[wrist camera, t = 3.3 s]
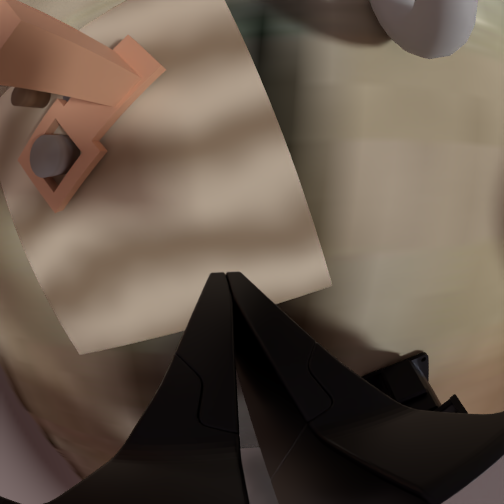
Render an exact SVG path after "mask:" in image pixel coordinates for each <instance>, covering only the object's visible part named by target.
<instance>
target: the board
mask: <svg viewBox="0 0 504 504" xmlns="http://www.w3.org/2000/svg"><path fill="white" fill-rule="evenodd" d="M78 31H80V32H82V33H84V34H86V35H88V36H89V37H91V38H93V39H95V40H96V41H98V42H100V43H102V44H103V45H105V46H107V47H109V48H110V49H112V50H113V49H114V48H115V47H116V46H117V45H118V44H119V43H120V42H121V41H122V40H123V39H124V38H125V37H126V36H127V35H129V36H131V37H132V38H133V39H134V40H136V41H137V42H138V43H139V44H140V45H141V46H142V47H143V48H144V49H145V50H146V51H147V52H148V53H149V54H151V55H152V56H153V57H154V58H155V59H156V60H157V61H158V62H159V63H160V64H161V65H162V66H163V67H164V68H165V69H166V71H165V72H164V73H162V74H161V75H160V76H159V77H158V78H157V79H156V80H155V81H154V82H153V83H152V84H151V85H150V86H149V87H148V88H147V89H146V90H145V91H144V92H143V93H142V94H141V95H140V96H139V97H138V98H137V99H136V100H135V101H134V102H133V103H132V104H131V105H130V106H129V108H128V109H127V110H126V111H125V112H124V113H123V114H122V115H121V116H120V117H119V118H118V120H117V121H116V122H115V123H114V124H113V125H112V126H111V128H110V129H109V130H108V131H107V132H106V133H105V135H104V136H103V137H102V138H101V139H100V143H101V144H102V145H103V146H104V147H105V148H106V150H107V151H108V152H107V153H106V154H105V155H104V156H103V158H102V159H101V160H100V161H99V162H98V164H97V165H96V166H95V167H94V169H93V170H92V171H91V173H90V174H89V175H88V176H87V178H86V179H85V180H84V182H83V183H82V184H81V186H80V187H79V188H78V190H77V191H76V193H75V194H74V195H73V197H72V198H71V200H70V201H69V202H68V204H67V205H66V207H65V208H64V210H63V211H60V212H57V213H54V211H53V210H52V209H51V207H50V206H49V205H48V203H47V202H46V201H45V199H44V198H43V197H42V195H41V194H40V192H39V191H38V190H37V188H36V187H35V185H34V184H33V182H32V181H31V180H30V178H29V177H28V175H27V174H26V172H25V171H24V169H23V168H22V166H21V165H20V163H19V162H18V158H19V156H20V155H21V153H22V151H23V149H24V148H25V146H26V144H27V143H28V141H29V139H30V138H31V136H32V135H33V133H34V131H35V130H36V128H37V127H38V125H39V124H40V122H41V121H42V119H43V118H44V116H45V115H46V113H47V112H48V110H49V109H50V108H51V106H52V105H53V103H54V102H55V101H56V99H57V98H58V99H63V100H66V101H67V102H68V100H69V99H70V98H71V97H68V96H63V95H58V94H53V93H48V92H42V91H36V90H31V89H24V88H18V87H10V88H9V89H8V90H7V91H6V92H5V93H4V94H3V95H2V96H1V97H0V182H1V186H2V189H3V192H4V196H5V199H6V202H7V205H8V208H9V211H10V214H11V217H12V220H13V223H14V225H15V228H16V231H17V233H18V236H19V238H20V241H21V243H22V246H23V248H24V251H25V253H26V255H27V258H28V260H29V262H30V265H31V267H32V269H33V271H34V273H35V275H36V278H37V280H38V282H39V284H40V286H41V288H42V290H43V292H44V294H45V296H46V298H47V300H48V302H49V304H50V305H51V307H52V309H53V311H54V313H55V315H56V316H57V318H58V320H59V322H60V323H61V325H62V327H63V329H64V330H65V332H66V334H67V335H68V337H69V339H70V340H71V342H72V343H73V345H74V347H75V348H76V350H77V351H78V353H79V354H80V355H82V354H87V353H92V352H96V351H101V350H106V349H110V348H115V347H119V346H123V345H128V344H132V343H136V342H140V341H145V340H149V339H153V338H157V337H161V336H165V335H169V334H173V333H176V332H180V331H184V330H185V328H186V326H187V324H188V322H189V319H190V317H191V315H192V313H193V310H194V308H195V306H196V303H197V301H198V299H199V297H200V295H201V292H202V290H203V288H204V286H205V283H206V281H207V279H208V277H209V275H210V273H212V272H224V273H225V274H226V273H227V272H237V271H239V272H241V273H242V274H243V275H244V276H246V277H247V278H248V279H249V280H250V281H251V282H252V283H253V284H254V285H255V286H256V287H257V288H258V289H260V290H261V291H262V292H263V293H264V294H265V295H266V296H267V297H268V298H269V299H270V300H271V301H273V302H274V303H275V304H278V303H281V302H284V301H287V300H290V299H294V298H297V297H300V296H303V295H306V294H309V293H312V292H315V291H318V290H321V289H324V288H327V287H330V286H332V282H331V279H330V275H329V272H328V269H327V265H326V262H325V258H324V255H323V252H322V248H321V245H320V242H319V239H318V236H317V232H316V229H315V226H314V223H313V220H312V217H311V214H310V211H309V208H308V204H307V201H306V199H305V196H304V193H303V190H302V187H301V184H300V181H299V178H298V175H297V172H296V170H295V167H294V164H293V161H292V158H291V156H290V153H289V150H288V147H287V145H286V142H285V139H284V137H283V134H282V131H281V129H280V126H279V124H278V121H277V119H276V116H275V113H274V111H273V108H272V106H271V103H270V101H269V98H268V96H267V94H266V91H265V89H264V86H263V84H262V81H261V79H260V77H259V74H258V72H257V70H256V67H255V65H254V63H253V60H252V58H251V56H250V54H249V51H248V49H247V47H246V45H245V42H244V40H243V38H242V36H241V34H240V32H239V29H238V27H237V25H236V23H235V21H234V19H233V17H232V15H231V12H230V10H229V8H228V6H227V4H226V2H225V0H126V1H124V2H122V3H121V4H119V5H117V6H115V7H114V8H112V9H110V10H108V11H107V12H105V13H104V14H102V15H100V16H99V17H97V18H96V19H94V20H92V21H91V22H89V23H88V24H86V25H85V26H83V27H82V28H80V29H79V30H78ZM81 153H82V152H81V151H80V149H79V148H78V147H77V146H76V144H75V143H74V142H73V141H72V139H71V138H70V137H69V136H68V134H67V133H66V132H65V130H64V129H63V128H62V126H61V125H59V126H58V128H57V129H56V131H55V132H54V133H53V135H42V136H40V137H39V138H37V139H36V141H35V142H34V144H33V146H32V148H31V152H30V165H31V168H32V170H33V172H34V173H35V175H37V176H38V177H41V178H45V177H52V178H53V179H54V181H55V182H56V183H57V185H58V186H59V184H60V183H61V181H62V180H63V178H64V177H65V175H66V174H67V173H68V171H69V170H70V168H71V167H72V166H73V164H74V163H75V161H76V160H77V159H78V157H79V156H80V155H81Z"/></svg>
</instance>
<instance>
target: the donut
mask: <svg viewBox="0 0 504 504" xmlns="http://www.w3.org/2000/svg"><path fill="white" fill-rule="evenodd" d="M369 1H370V4H371V6H372V9H373V11H374V13H375V15H376V17H377V19H378V21H379V23H380V25H381V26H382V27H383V29H384V30H385V32H386V33H387V34H388V36H389V37H390V38H391V39H392V40H393V41H394V42H395V43H397V44H398V45H399V46H400V47H401V48H402V49H404V50H405V51H407V52H409V53H411V54H414V55H417V56H420V57H423V58H427V59H433V58H439V57H445V56H450V55H451V54H453V53H454V52H455V51H457V50H458V49H459V48H460V47H461V46H463V45H464V44H465V43H466V42H467V40H468V38H469V36H470V34H471V32H472V29H473V27H474V25H475V20H476V12H477V3H478V0H369Z"/></svg>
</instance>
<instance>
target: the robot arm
mask: <svg viewBox="0 0 504 504" xmlns="http://www.w3.org/2000/svg"><path fill="white" fill-rule="evenodd" d="M315 342H316V341H315V340H314V339H313V338H312V337H311V336H310V335H309V334H308V333H306V332H305V331H304V330H303V329H302V328H301V327H300V326H299V325H298V324H297V323H295V322H294V321H293V320H292V319H291V318H290V317H289V316H288V315H287V314H286V313H285V312H283V311H282V310H281V309H280V308H279V307H278V306H277V305H276V304H275V303H274V302H273V301H271V300H270V299H269V298H268V297H267V296H266V295H265V294H264V293H263V292H262V291H261V290H260V289H258V288H257V287H256V286H255V285H254V284H253V283H252V282H251V281H250V280H249V279H248V278H247V277H246V276H244V275H243V274H242V273H241V272H239V271H237V272H227V273H226V274H225V273H224V272H212V273H210V275H209V277H208V279H207V281H206V283H205V286H204V288H203V290H202V292H201V295H200V297H199V299H198V301H197V303H196V306H195V308H194V310H193V313H192V315H191V317H190V319H189V322H188V324H187V326H186V328H185V331H184V333H183V335H182V338H181V340H180V342H179V345H178V347H177V349H176V352H175V355H174V356H173V358H172V361H171V363H170V365H169V367H168V370H167V372H166V374H165V376H164V378H163V380H162V382H161V384H160V386H159V388H158V389H157V391H156V393H155V395H154V396H153V398H152V400H151V402H150V403H149V405H148V406H147V408H146V410H145V411H144V413H143V415H142V416H141V418H140V419H139V421H138V423H137V424H136V426H135V428H134V429H133V431H132V432H131V434H130V436H129V437H128V439H127V440H126V442H125V444H124V445H123V446H122V448H121V449H120V450H119V451H118V453H117V454H116V455H115V456H114V457H113V458H112V459H111V460H109V461H108V462H107V463H106V464H104V465H103V466H102V467H100V468H99V469H97V470H96V471H95V472H93V473H92V474H91V475H89V476H88V477H86V478H85V479H83V480H82V481H81V482H79V483H78V484H76V485H75V486H73V487H72V488H71V489H69V490H68V491H66V492H65V493H63V494H62V495H60V496H59V497H57V498H56V499H54V500H52V501H50V502H48V503H44V504H250V502H249V497H248V492H247V487H246V482H245V476H244V471H243V465H242V459H241V450H240V437H239V420H238V402H237V382H236V370H237V374H238V377H239V381H240V384H241V388H242V391H243V395H244V398H245V401H246V405H247V408H248V411H249V415H250V418H251V421H252V424H253V428H254V431H255V434H256V437H257V440H258V444H259V447H260V450H261V453H262V456H263V459H264V462H265V465H266V468H267V471H268V474H269V477H270V479H271V483H272V486H273V489H274V492H275V495H276V498H277V501H278V503H279V504H504V411H503V412H500V413H495V414H468V413H467V411H466V410H465V408H464V407H463V405H462V404H461V402H460V401H459V399H458V398H457V396H456V395H455V394H454V395H453V396H451V397H450V399H449V400H448V401H446V402H445V403H444V404H442V405H441V403H440V401H439V399H438V398H437V396H436V394H435V393H434V391H433V389H432V387H431V386H430V384H429V382H428V374H429V362H428V355H427V354H426V353H425V352H423V353H420V354H418V355H416V356H413V357H411V358H409V359H406V360H404V361H401V362H399V363H396V364H394V365H391V366H389V367H386V368H384V369H381V370H378V371H376V372H373V373H370V374H367V375H365V376H363V377H360V376H358V375H357V374H356V373H354V372H353V371H352V370H350V369H349V368H348V367H346V366H345V365H344V364H342V363H341V362H340V361H339V360H337V359H336V358H335V357H334V356H333V355H331V354H330V353H329V352H328V351H327V350H326V349H324V348H323V347H322V346H321V345H320V344H319V343H318V342H316V343H315ZM423 357H424V358H423ZM422 358H423V359H422ZM366 380H367V381H366ZM0 504H20V503H17V502H14V501H12V500H9V499H6V498H4V497H1V496H0Z"/></svg>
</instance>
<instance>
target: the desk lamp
mask: <svg viewBox="0 0 504 504" xmlns="http://www.w3.org/2000/svg"><path fill="white" fill-rule="evenodd" d="M240 450H241V459H242V465H243V471H244V476H245V482H246V487H247V492H248V497H249V502H250V504H279V503H278V501H277V498H276V495H275V492H274V489H273V486H272V483H271V479H270V477H269V474H268V471H267V468H266V465H265V462H264V459H263V456H262V453H261V450H260V447H252V448H240Z"/></svg>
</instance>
